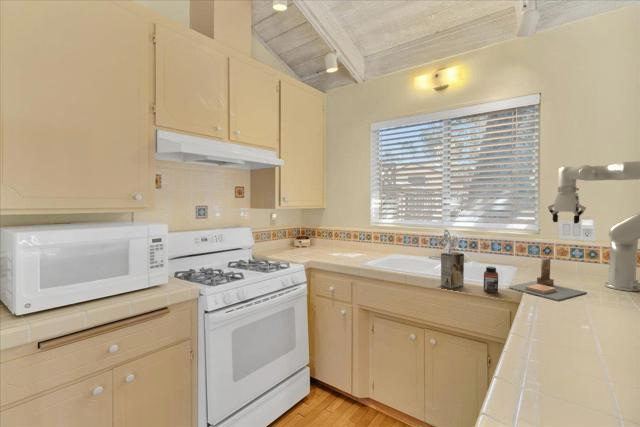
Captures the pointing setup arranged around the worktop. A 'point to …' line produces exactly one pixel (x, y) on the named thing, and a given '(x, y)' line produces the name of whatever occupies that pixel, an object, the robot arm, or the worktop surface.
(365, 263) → the worktop surface
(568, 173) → the robot arm
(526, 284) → the mat
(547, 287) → the tile
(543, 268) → the wooden rubber stamp
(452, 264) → the coffee box
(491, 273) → the supplement bottle
